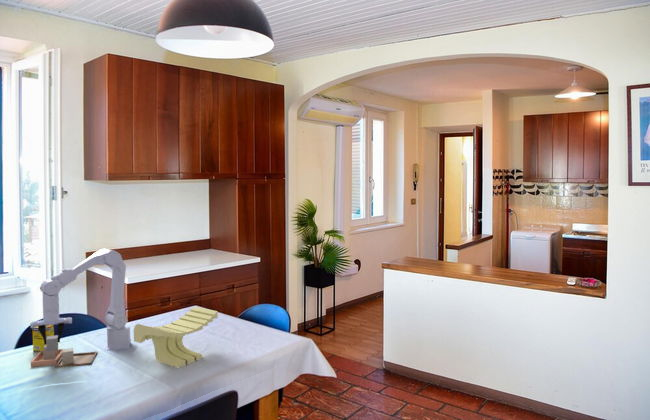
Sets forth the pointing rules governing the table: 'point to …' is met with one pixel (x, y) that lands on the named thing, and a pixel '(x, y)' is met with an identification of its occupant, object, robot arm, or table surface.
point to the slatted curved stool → (175, 336)
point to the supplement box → (38, 339)
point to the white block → (67, 356)
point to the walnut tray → (79, 359)
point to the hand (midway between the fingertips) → (52, 342)
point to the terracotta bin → (43, 362)
